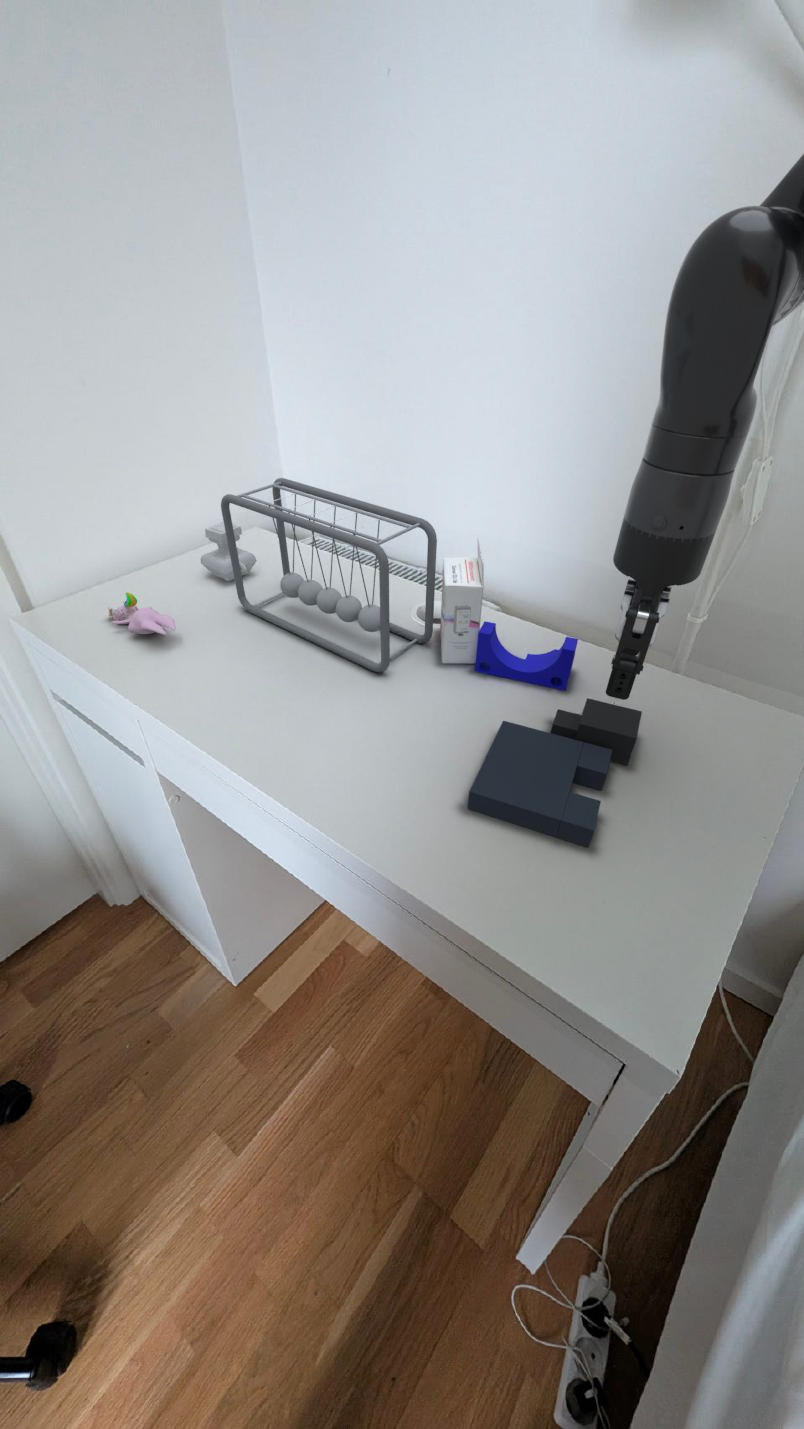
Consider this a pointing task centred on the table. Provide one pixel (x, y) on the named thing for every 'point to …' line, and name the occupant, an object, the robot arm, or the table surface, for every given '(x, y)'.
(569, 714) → the black usb stick
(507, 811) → the grey pad
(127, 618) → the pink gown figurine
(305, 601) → the newton's cradle
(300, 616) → the table surface
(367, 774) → the table surface
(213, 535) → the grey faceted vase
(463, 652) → the ink cartridge box
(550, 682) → the blue half-round bracket
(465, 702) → the table surface
